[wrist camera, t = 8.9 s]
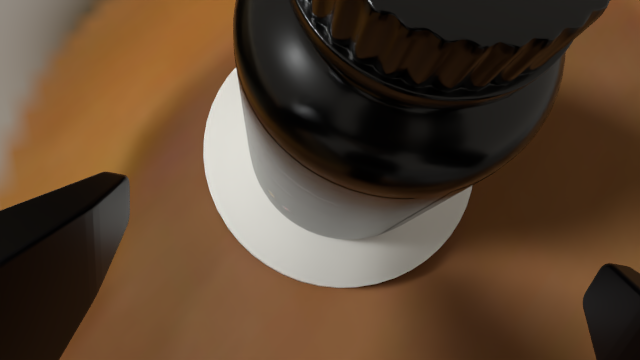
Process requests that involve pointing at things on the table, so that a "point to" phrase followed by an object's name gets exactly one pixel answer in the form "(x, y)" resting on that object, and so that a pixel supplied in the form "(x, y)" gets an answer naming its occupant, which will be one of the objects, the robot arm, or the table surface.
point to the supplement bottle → (393, 99)
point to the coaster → (295, 242)
